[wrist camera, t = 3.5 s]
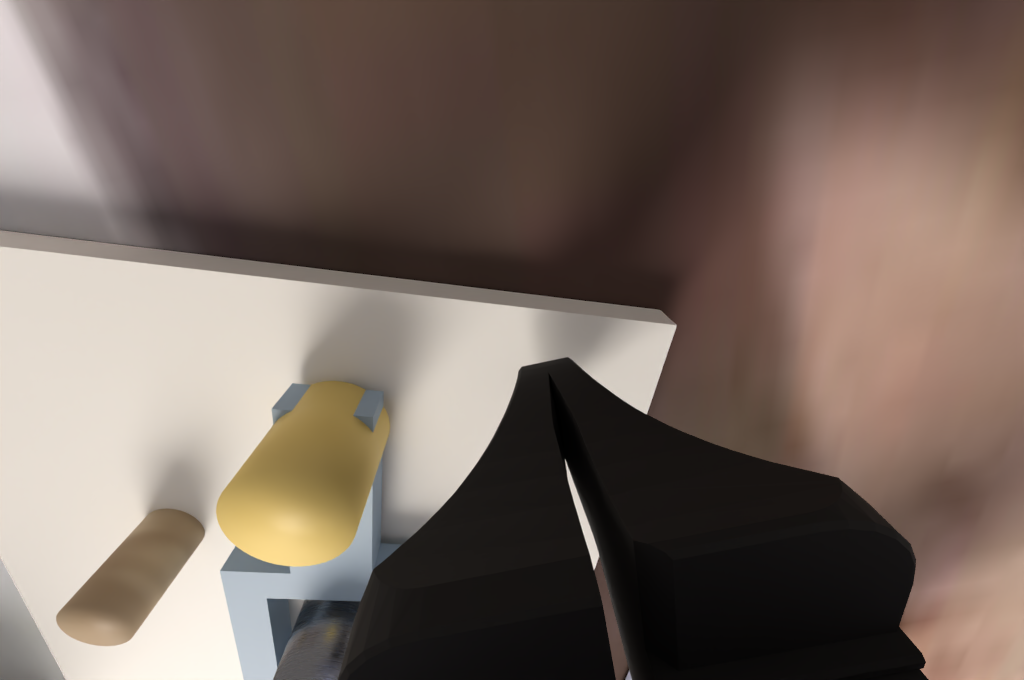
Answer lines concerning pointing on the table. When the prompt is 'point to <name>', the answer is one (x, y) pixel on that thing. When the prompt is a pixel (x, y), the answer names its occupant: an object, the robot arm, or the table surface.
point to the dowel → (131, 579)
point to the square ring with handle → (303, 515)
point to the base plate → (243, 409)
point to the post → (318, 641)
